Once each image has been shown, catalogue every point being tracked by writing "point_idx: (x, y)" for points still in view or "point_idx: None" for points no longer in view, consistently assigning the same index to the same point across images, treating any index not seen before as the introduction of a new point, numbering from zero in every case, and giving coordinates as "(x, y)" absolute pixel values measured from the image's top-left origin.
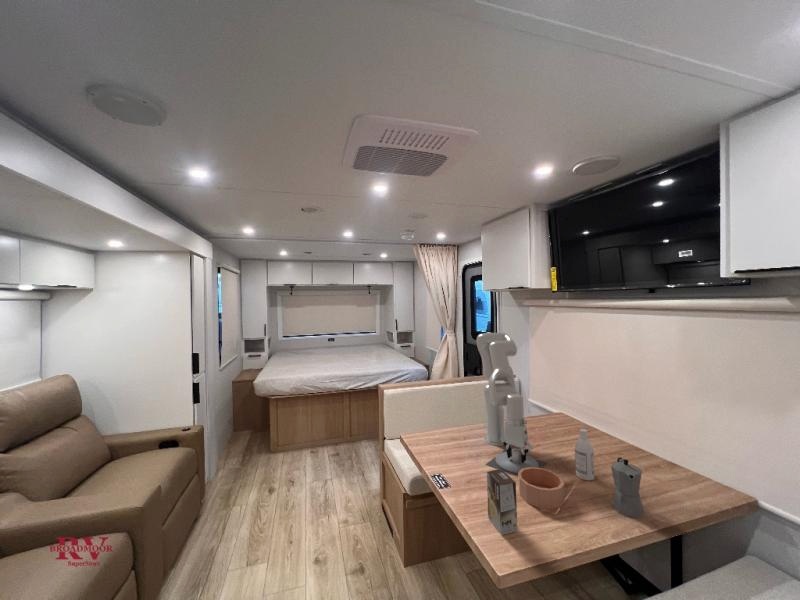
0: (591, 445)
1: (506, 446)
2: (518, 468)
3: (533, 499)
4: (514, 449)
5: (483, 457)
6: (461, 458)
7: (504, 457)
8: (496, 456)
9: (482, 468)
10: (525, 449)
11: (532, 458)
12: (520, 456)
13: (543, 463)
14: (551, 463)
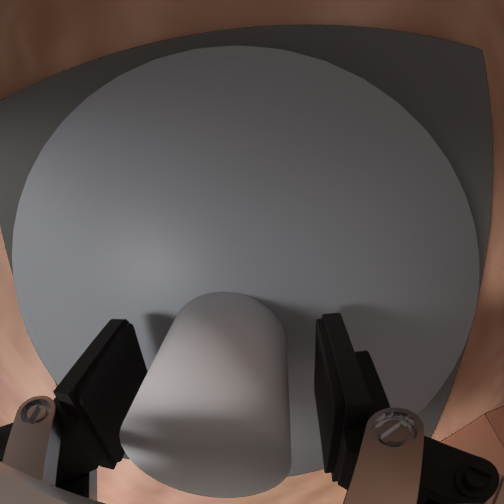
0: None
1: (66, 487)
2: (319, 438)
3: None
4: (154, 446)
5: (11, 366)
6: (2, 425)
7: (89, 344)
8: (47, 365)
9: (119, 472)
10: (407, 484)
11: (360, 99)
12: (288, 399)
13: (462, 83)
14: (487, 22)
